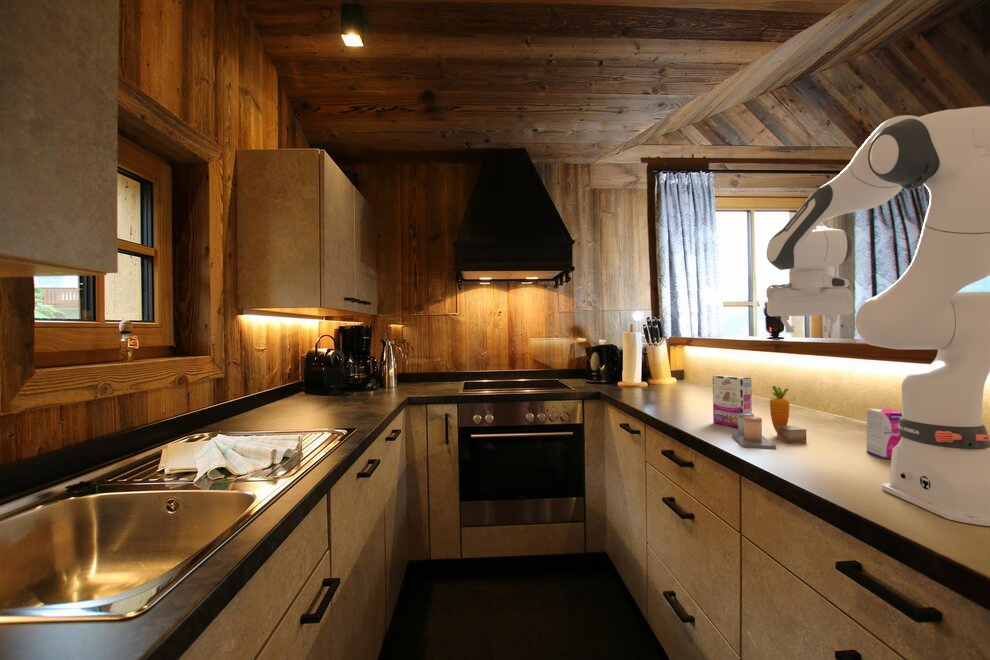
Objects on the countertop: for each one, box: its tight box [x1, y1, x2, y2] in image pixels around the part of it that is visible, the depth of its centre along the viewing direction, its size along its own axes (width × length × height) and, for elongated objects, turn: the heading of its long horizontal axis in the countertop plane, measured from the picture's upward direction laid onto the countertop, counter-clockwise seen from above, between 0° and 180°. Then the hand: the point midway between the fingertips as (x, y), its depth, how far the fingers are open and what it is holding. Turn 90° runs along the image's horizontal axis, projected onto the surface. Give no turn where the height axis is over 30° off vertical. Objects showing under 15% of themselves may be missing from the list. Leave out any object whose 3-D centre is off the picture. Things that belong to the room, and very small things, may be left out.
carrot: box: [769, 385, 790, 433], centre depth 135 cm, size 5×5×15 cm
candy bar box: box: [712, 374, 753, 429], centre depth 150 cm, size 11×5×16 cm, turn 25°
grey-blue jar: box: [737, 413, 755, 435], centre depth 137 cm, size 4×4×6 cm
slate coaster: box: [731, 433, 777, 450], centre depth 128 cm, size 12×8×1 cm, turn 165°
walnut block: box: [776, 425, 808, 445], centre depth 129 cm, size 5×5×4 cm
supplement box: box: [866, 408, 902, 459], centre depth 113 cm, size 6×6×12 cm
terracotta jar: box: [744, 415, 763, 441], centre depth 128 cm, size 4×4×6 cm
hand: (808, 332), depth 126 cm, fingers open, 8 cm apart
